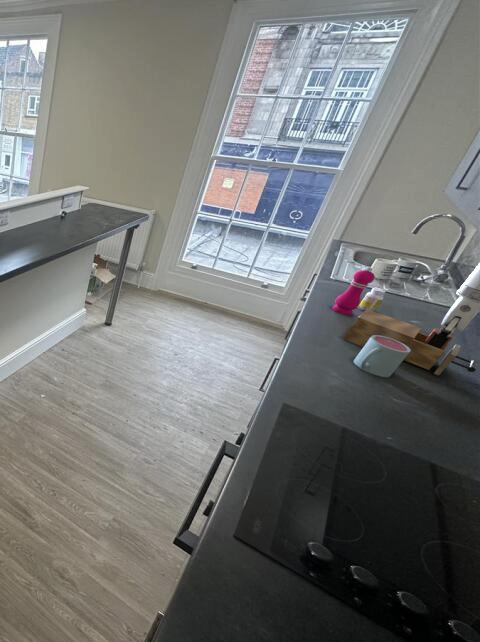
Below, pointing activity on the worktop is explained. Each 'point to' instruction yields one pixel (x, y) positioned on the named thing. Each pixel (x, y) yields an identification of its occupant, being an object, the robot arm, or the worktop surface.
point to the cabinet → (380, 329)
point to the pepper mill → (353, 292)
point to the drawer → (434, 355)
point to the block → (437, 332)
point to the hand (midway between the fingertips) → (435, 343)
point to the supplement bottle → (372, 300)
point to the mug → (381, 355)
